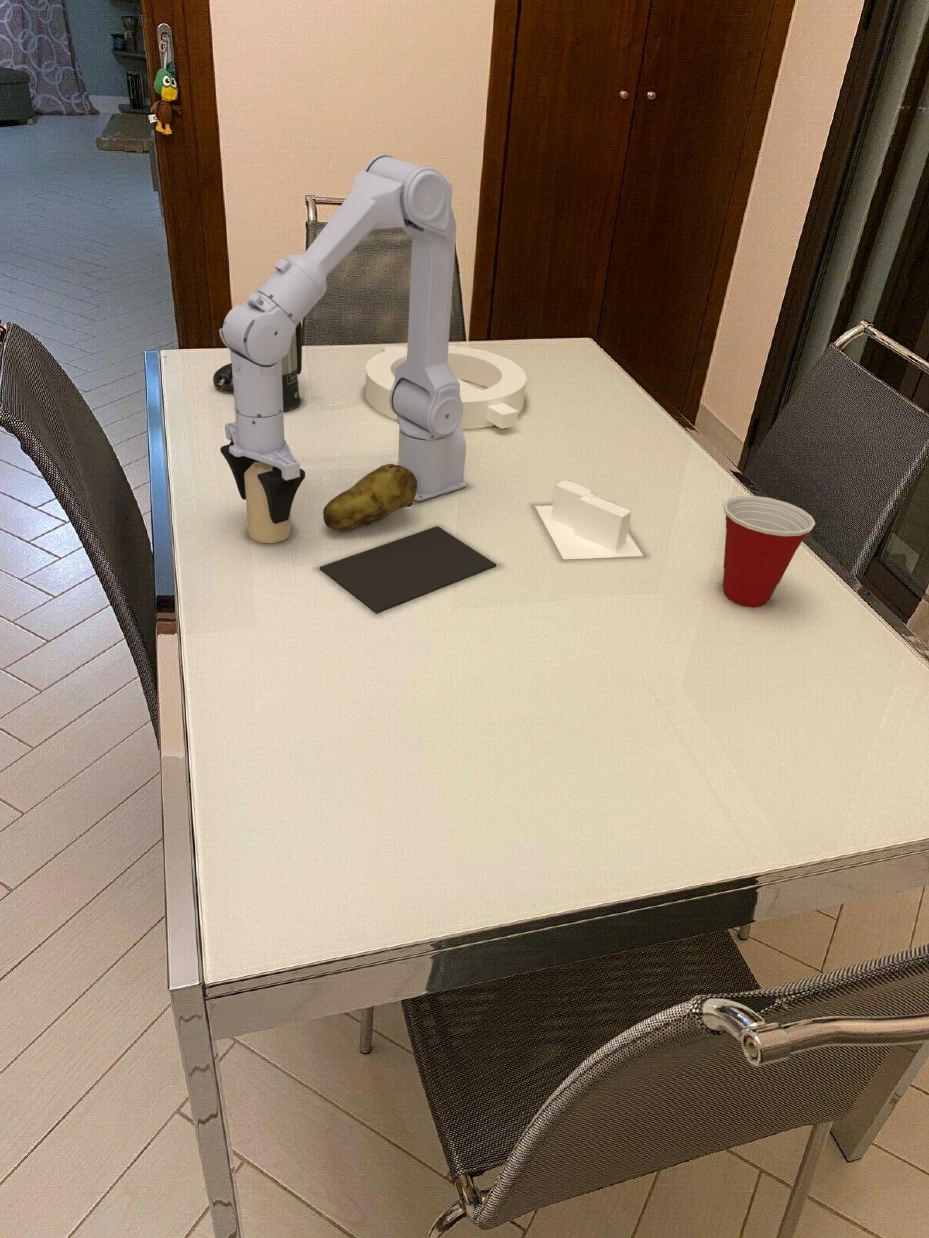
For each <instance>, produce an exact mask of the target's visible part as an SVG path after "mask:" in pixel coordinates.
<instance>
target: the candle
mask: <svg viewBox="0 0 929 1238" xmlns="http://www.w3.org/2000/svg"><path fill="white" fill-rule="evenodd" d="M272 467H273V466H271V465H269V464H266V463H263V462H254V463H253V464H252V465H251V467H250V468H249V469H248V470H247V471H246V472H245V474H244V478H245V493H246V500H245V504H246V505H245V506H246V507H245V508H246V519H247V533H248V536H249V537H250V539H252V540H253V541H255V542H257V543H261V544H274V543H275V544H276V543H280V542H283V541H285V540H287V539H288V538H289V537H290V536H291V533H292V521H291V514H290V515H289V519H288V520H287V521H284V522H280V523H277V524H274V523H273V522H272V520H271V518H270V514H269V508H268V501H267V497H266V494H265V491H264V488H263V486H262V484H261V482H260V481H259V479H258V478H257V475H258V474H261V473H265V472H269V471H272Z"/></svg>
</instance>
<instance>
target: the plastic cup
mask: <svg viewBox="0 0 929 1238" xmlns="http://www.w3.org/2000/svg"><path fill="white" fill-rule="evenodd" d="M723 511H724V514H725V539H724V554H723V555H724V556H723V577H722V591H723V595H724V597H726V599H728V600H729V601H731V602H732V603H734V604H736V605H738V606H741V607H745V608H746V607H747V608H760V607H763V606H765V605H767V604H768V602H769V601H770V600H771V598H772V596H773V594H774V592H775V590H776V588H777V586H778V585H779V584H780V582H781V580H782V579H783V577H784V575H785V573H786V571H787V568H788V567H789V565H790V563H791V561H792V559H793V558H794V555H795V553H796V552H797V550H798V549H799V547H800V545H801V543H802V542H803V541H804V539H805V537H806V536H807V535H808V534H809V533H810V532H811V531H812V530H813V528H814V527H815V525H816V524H817V523H816V521H815V520H814V518H813V515H810V513H808V512H807V511H805V510H804V509H803V508H800V507H798V506H797V505H794V504H792V503H790V502H787V501H784V500H779V499H775V498H772V497H765V496H758V495H738V496H734V497H731V498H727V500H726V501H725V502H724V503H723Z"/></svg>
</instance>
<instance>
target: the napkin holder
mask: <svg viewBox="0 0 929 1238" xmlns="http://www.w3.org/2000/svg"><path fill="white" fill-rule="evenodd" d="M534 508H535V509H536V512H537V513H538V515H539V517H540V519H541V520H542V522H543V524H544V526H545V528H546V530H547V532H548V534H549V535H550V537H551V540H552V541H553V543H554V545H555V546H556V548H557V550H558V552H559V554H560V556H561V557H562V559H563V560H584V559H585V560H586V559H587V560H588V559H608V558H609V559H613V558H630V557H631V558H632V557H633V558H634V557H635V558H636V557H644V554H643V553H642V552H641V549H640V548H639V547H638V545H637V544H636V543H635V540H633V538H632V537H631V535H630V534H629V527H630V521H631V516H632V510H629V509H627V508H626V507H622V506H621V505H617V504H615V503H612V502H610V501H608V500H605V499H602V498H600V497H597V496H595V494H594V491H593V490H591V489H589V488H587V487H585V486H582V485H579V484H577V483H574V482H572V481H569V480H566V479H564V480H562V481H560V482H559V483H556V484H555V487H554V494H553V501H552V505H535V506H534Z"/></svg>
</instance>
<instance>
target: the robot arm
mask: <svg viewBox="0 0 929 1238" xmlns="http://www.w3.org/2000/svg"><path fill="white" fill-rule="evenodd" d="M452 195H453V184H451V182H449V180H447V178H446V177H445V176H444V175H443V174H442V173H441V172H439V170H437V169H436V168H435V167H432V166H431V167H429V166H422V165H419V164H415V163H412V162H409V161H405V160H402V159H398V158H395V157H393V156H392V155H389V154H377V155H375V156H373V157H372V158H371V159H370V160H369V161H367V163H366V164H365V166H364V169H363V170H361V171H360V172H358V173H357V174H356V175H355V176H354V178H353V181H352V186H351V191H350V193H349V195H348V196H347V197H346V198H345V199H344V201H343V202H342V203H341V205H340V206H339V208H338V209H337V210H336V211H335V213H334V214H333V216H331V218H330V219H329V221H328V222H327V224H325V226H324V227H323V229H322V230H321V231H320V232H319V234H318V235H317V236H316V238H315V239H314V241H313V242H312V243H311V244H310V246H309V247H308V248H307V249H306V251H305V252H304V253H302V254H300V253H299V254H289V255H287V256H286V258H285V259H284V258H279V260H278V261H277V262H276V263H275V264H274V268H275V270H274V271H273V272H272V273H271V275H270V276H269V277H268V278H267V279H266V281H264V283H263V284H262V285H261V286H260V287H258V288H259V289H257V291H256V292H252V293H251V294H250V295H249V297H248V301H247V302H243V303H241V305H240V304H236V305H235V306H233V307H232V308H231V309H230V310H229V311H228V313H227V314H226V316H225V318H224V320H223V324H222V327H221V328H219V330H218V331H219V333H218V334H219V337H220V339H221V341H222V343H223V344H224V345H225V347H226V348H227V349H228V350H229V353H230V363H232V374H233V378H232V385H233V388H234V392H233V402H234V415H235V421H232V422H227V423H224V431H225V432H224V433H225V438H226V439H227V440H228V441H229V444H225V445H222V446H221V447H220V450H219V451H220V453H221V454H222V456H223V458H224V459H225V461H226V462H227V464H228V466H229V468H230V470H231V472H232V475H233V478H234V481H235V484H236V487H237V490H238V493H239V496H240V498H241V499H242V500H243V501H246V493H245V478H244V474H245V472H246V471H247V470H248V469H249V468H250V467H251V465H252V464H253V463H254V462H263V463H266V464H269V465H271V466H273V467H272V471H269V472H265V473H261V474H258V475H257V478H258V479H259V481H260V482H261V484H262V486H263V488H264V491H265V494H266V497H267V501H268V508H269V514H270V518H271V520H272V522H273V523H274V524H277V523H280V522H284V521H287V520H288V519H289V515H290V516H291V511H292V506H293V503H294V499H295V496H296V494H297V491H298V490H299V488H300V486H301V484H302V482H303V481H304V479H305V478H306V471H305V470H304V469H302V468H301V462H300V461H298V460H297V459H296V458H295V456H294V454H293V452H292V450H291V448H290V446H289V444H288V443H287V441H286V439H285V419H284V411H283V391H282V364H281V359H282V358H283V357H284V356H286V355H287V353H288V352H289V349H290V346H291V340H292V335H293V333H294V332H295V331H296V330H295V328H296V326H297V325H298V324H299V323H300V321H301V322H302V320H303V319H305V317H306V316H307V315H308V313H309V312H310V311H311V310H312V309H313V308H314V307H315V305H316V304H317V303H318V302H319V301H320V300H321V299H322V298H323V296H325V294H326V293H327V289H328V287H327V286H328V285H327V278H328V275H329V274H330V273H332V271H333V270H334V269H336V267H337V266H338V265H339V264H340V263H341V262H343V260H344V259H345V258H346V257H347V256H348V255H349V254H350V253H351V252H352V251H353V250H355V248H356V247H357V246H358V245H359V244H360V243H361V242H362V241H364V240H365V238H366V237H367V236H368V235H370V233H371V232H373V231H374V230H383V229H399V228H401V229H402V230H403V231H404V232H405V233H406V235H408V237H410V239H411V255H410V256H411V257H410V280H409V298H408V299H409V300H408V301H409V302H408V325H407V345H406V346H407V360H406V361H405V362H403V363H402V364H401V365H399V366H398V367H397V368H396V373H395V381H394V384H393V386H392V388H391V391H390V395H389V404H390V407H391V410H392V411H393V412H394V413H395V414H396V415H397V420H396V423H397V424H398V428H399V430H398V454H397V455H398V456H397V457H398V459H397V465H400V466H402V467H404V468H407V469H409V470H410V471H411V472H412V473H413V474H414V476H415V477H416V480H417V490H416V495H415V498H414V499H413V501H415V502H417V503H419V502H422V501H425V500H428V499H432V498H435V497H438V496H440V495H444V494H447V493H450V492H453V491H456V490H460V489H462V488H466V487H467V486H468V483H467V482H466V481H465V480H464V479H465V466H466V465H465V463H466V454H467V453H466V452H467V442H466V437H465V434H464V432H463V429H461V428H460V427H459V426H458V425H459V423H460V421H461V419H462V415H463V404H462V401H461V398H460V383H459V381H458V379H457V378H456V376H455V374H454V373H453V371H452V370H451V368H450V367H449V365H448V363H447V360H448V345H450V344H449V343H450V329H451V315H452V314H451V313H452V301H453V300H452V299H453V283H454V271H455V270H454V269H455V257H456V256H455V253H456V243H457V241H456V240H457V222H456V217H455V213H454V211H453V206H452V197H453V196H452Z"/></svg>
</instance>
